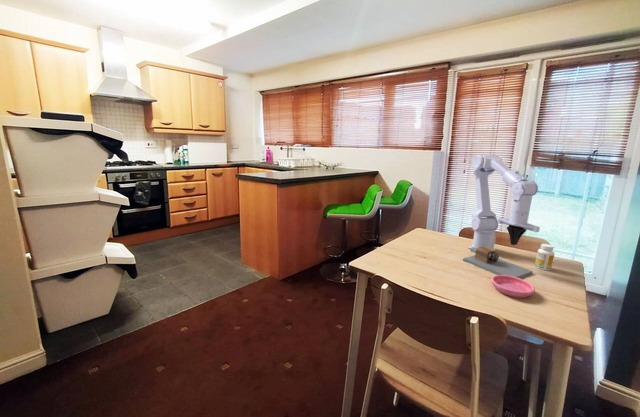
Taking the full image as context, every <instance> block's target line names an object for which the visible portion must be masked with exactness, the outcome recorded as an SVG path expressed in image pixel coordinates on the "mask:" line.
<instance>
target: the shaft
mask: <svg viewBox="0 0 640 417" xmlns="http://www.w3.org/2000/svg"><path fill="white" fill-rule="evenodd" d="M470 252H471V253H474V254H475V253H476V248H475V247H472V248H471V249H470ZM499 257H500V254H499V253H497V252H496V253H493V254H492V253H490V255H489V258H490V259H491V261H493V262H497V260H498V259H500V258H499Z"/></svg>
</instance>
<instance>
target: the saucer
mask: <svg viewBox="0 0 640 417" xmlns="http://www.w3.org/2000/svg"><path fill="white" fill-rule="evenodd" d="M490 281H491V284H492V286H493V287H494V288H495V290H497V291H498V292H500V293H501V294H503V295H504V296H509V297H511V298H515V299H516V298H517V299H525V298H528V297H530V296H532V295H533V294H534V293H535V291H536V287H535V286H534V285H533V284H532V283H531V282H529V281H526V280H525V279H522V278H517V277H513V276H508V275H497V274H494V275H493V276H491V279H490Z"/></svg>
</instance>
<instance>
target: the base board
mask: <svg viewBox="0 0 640 417" xmlns="http://www.w3.org/2000/svg"><path fill="white" fill-rule="evenodd" d="M462 261H463V262H465V263H468V264H470V265H472V266H474V267H475V266H476V267H478V268H479V269H483V270H485V271H488V272H490V273H492V274H494V275H508V276H513V277H517V278H520V279H522V278H523V277H526V276H529V275H532V274H533V273H534V271H533V270H532V269H528V268H526V267H523V266H519V265H517V264H514V263H512V262H509V261H507V260H503V259H501V258H498V260H497V262H489V263H484V262H481V261H479V260H476V259H475V254H474V255H470V256H467V257H464V258H463V259H462Z"/></svg>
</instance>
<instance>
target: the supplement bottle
mask: <svg viewBox="0 0 640 417" xmlns="http://www.w3.org/2000/svg"><path fill="white" fill-rule="evenodd" d="M554 247H555V246H554V245H552V244H548V243H541V244H540V248H539V249H537V253H536V258H535V263H534V267H535V268H537V269H538V270H541V271H551V270H552V266H553V263H554V260H555V259H554V258H555V252H554Z"/></svg>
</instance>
